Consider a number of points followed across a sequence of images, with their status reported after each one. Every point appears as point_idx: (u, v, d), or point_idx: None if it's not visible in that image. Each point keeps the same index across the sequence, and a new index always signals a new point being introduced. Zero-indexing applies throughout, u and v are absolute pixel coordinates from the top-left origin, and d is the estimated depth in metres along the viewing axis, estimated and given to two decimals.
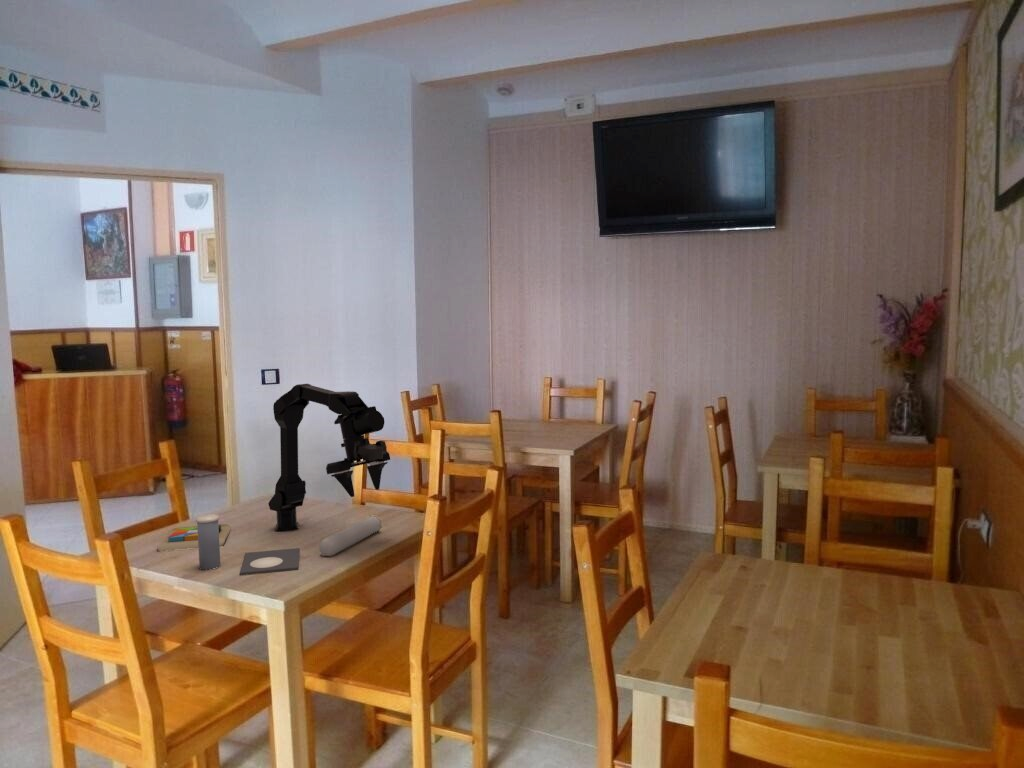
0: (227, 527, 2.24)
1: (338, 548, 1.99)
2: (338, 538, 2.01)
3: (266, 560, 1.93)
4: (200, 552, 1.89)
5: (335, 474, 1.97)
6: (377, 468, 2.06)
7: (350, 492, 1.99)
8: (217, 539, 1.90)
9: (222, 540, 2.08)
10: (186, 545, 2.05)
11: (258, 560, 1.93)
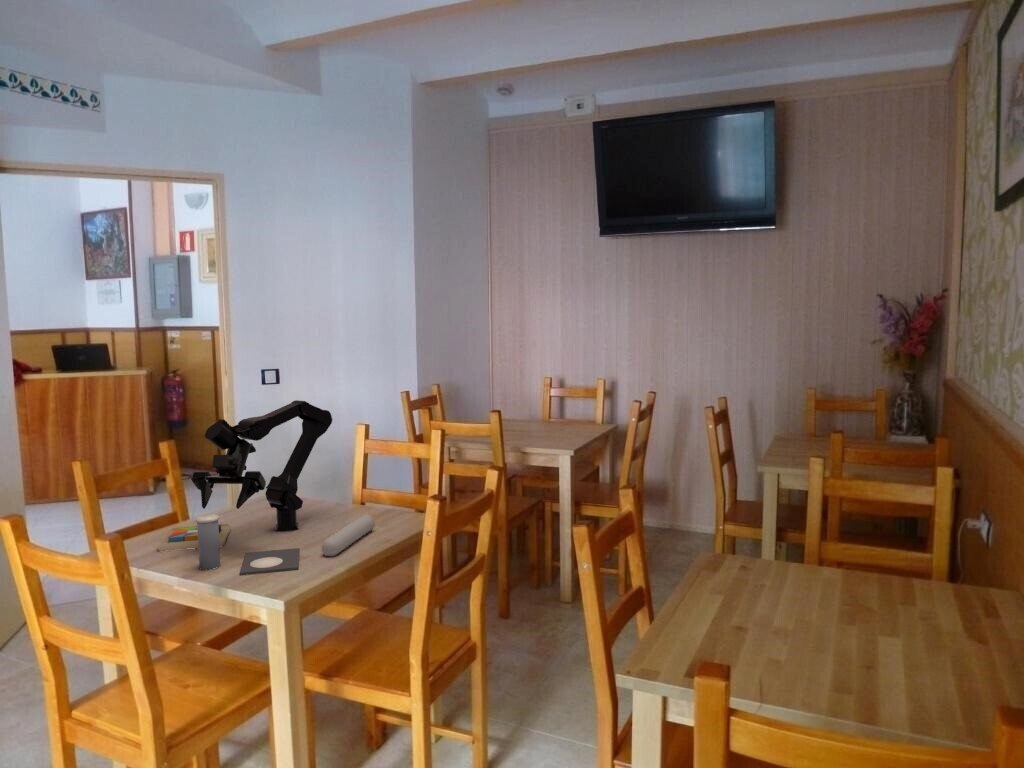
0: (227, 527, 2.24)
1: (340, 548, 1.99)
2: (339, 538, 2.01)
3: (266, 560, 1.93)
4: (200, 552, 1.89)
5: None
6: None
7: None
8: (217, 539, 1.90)
9: (222, 540, 2.08)
10: (186, 545, 2.05)
11: (258, 560, 1.93)
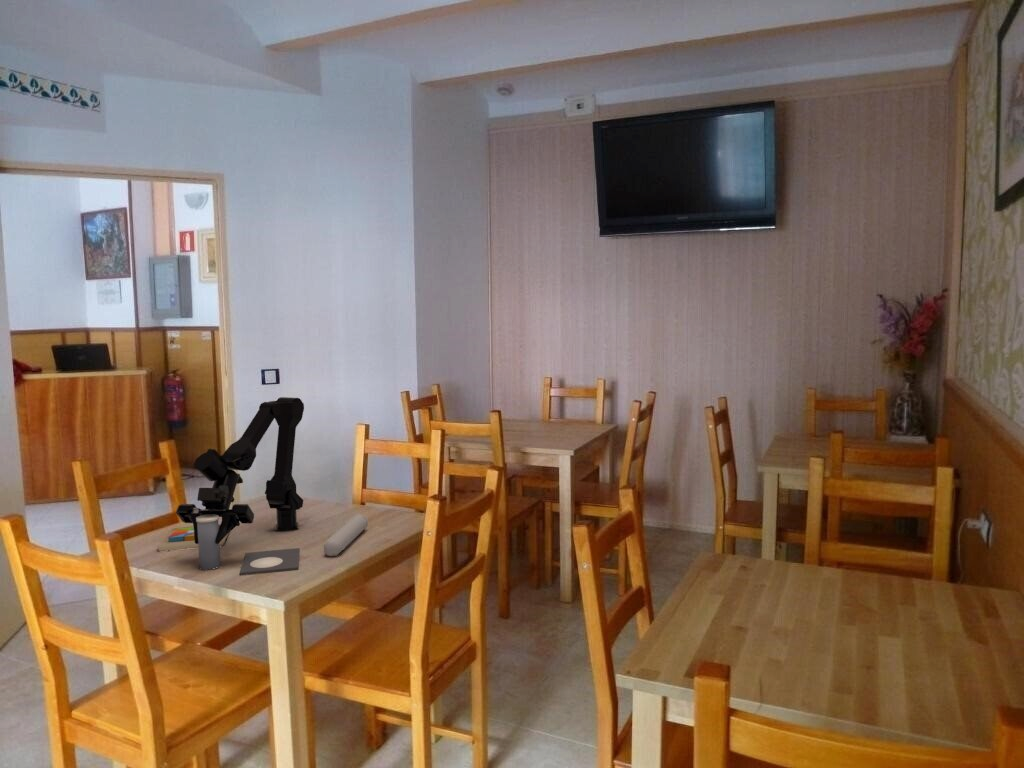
0: None
1: (342, 547, 2.00)
2: (340, 537, 2.01)
3: (266, 560, 1.93)
4: (200, 552, 1.89)
5: None
6: None
7: None
8: None
9: (222, 540, 2.08)
10: (186, 545, 2.05)
11: (258, 560, 1.93)
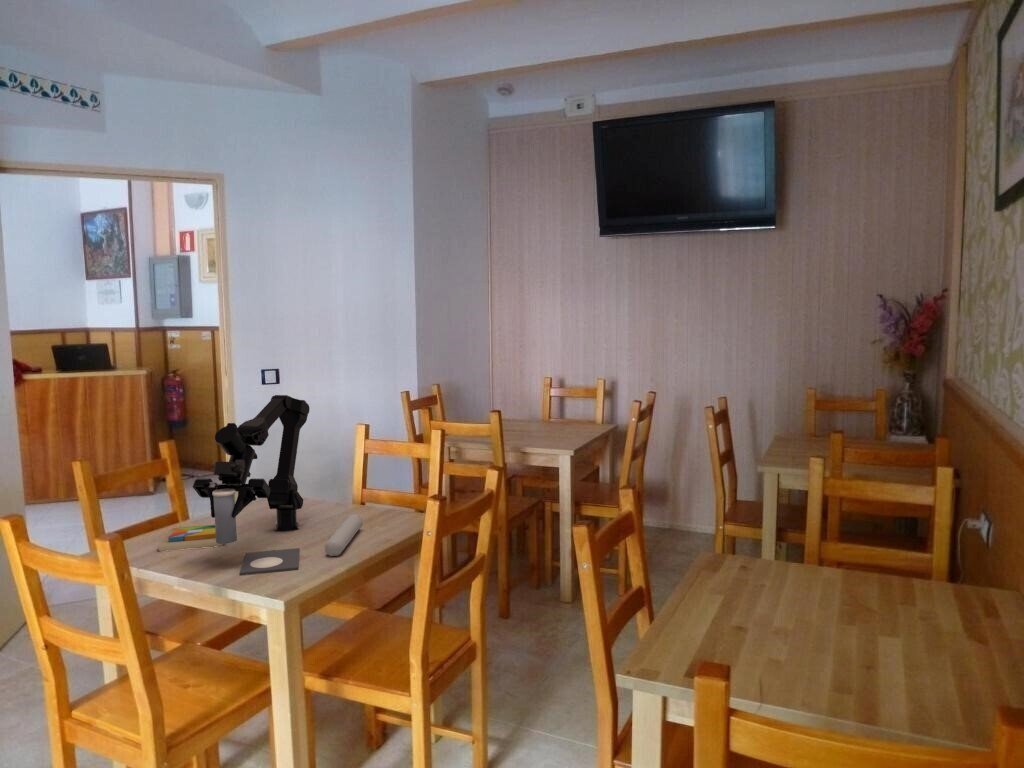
0: None
1: (343, 547, 2.00)
2: (341, 537, 2.01)
3: (266, 560, 1.93)
4: (216, 526, 1.88)
5: None
6: None
7: None
8: None
9: None
10: (186, 545, 2.05)
11: (258, 560, 1.93)
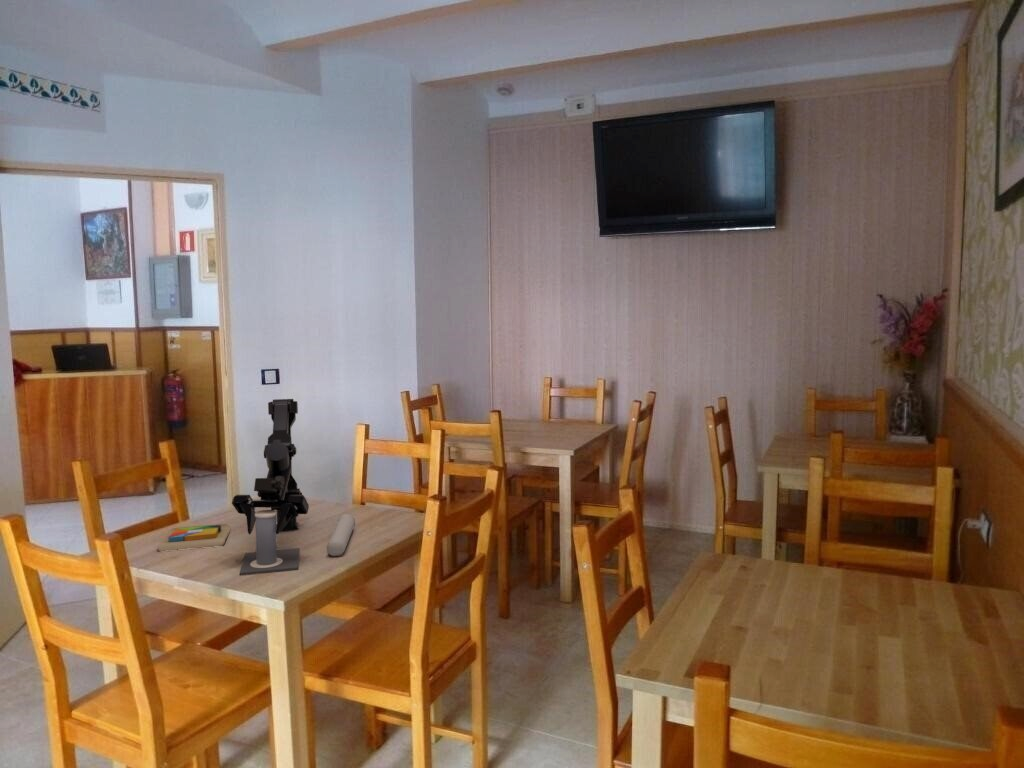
0: (227, 527, 2.24)
1: (345, 547, 2.00)
2: (342, 537, 2.01)
3: None
4: (258, 547, 1.89)
5: None
6: None
7: None
8: (275, 535, 1.91)
9: (222, 540, 2.08)
10: (186, 545, 2.05)
11: None
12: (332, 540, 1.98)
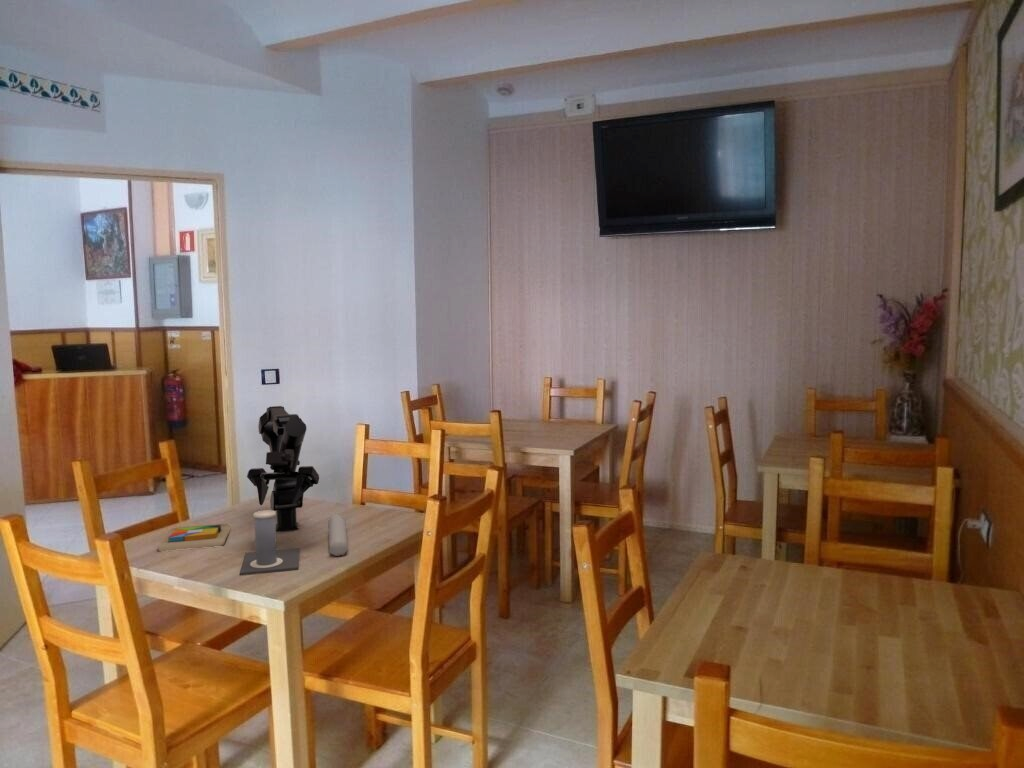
0: (227, 527, 2.24)
1: None
2: (343, 537, 2.02)
3: None
4: (257, 548, 1.89)
5: None
6: None
7: None
8: (274, 535, 1.91)
9: (222, 540, 2.08)
10: (186, 545, 2.05)
11: None
12: (335, 540, 1.98)
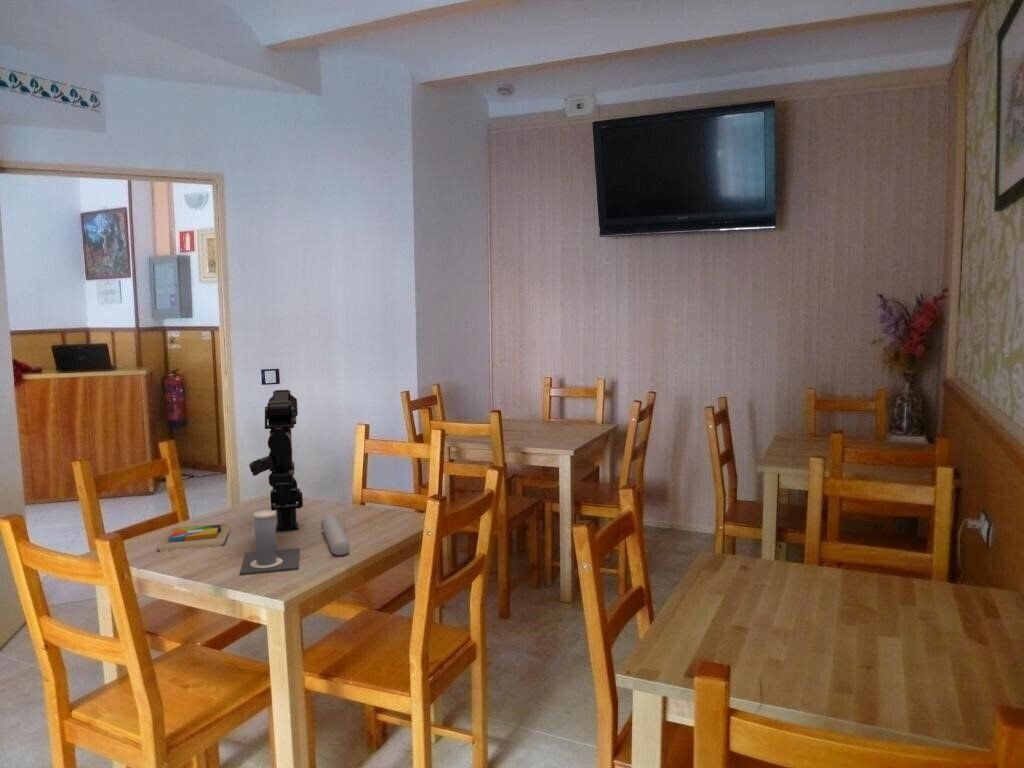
0: (227, 527, 2.24)
1: None
2: (344, 536, 2.02)
3: None
4: (257, 548, 1.89)
5: None
6: None
7: None
8: (274, 535, 1.91)
9: (222, 540, 2.08)
10: (186, 545, 2.05)
11: None
12: (337, 540, 1.98)
